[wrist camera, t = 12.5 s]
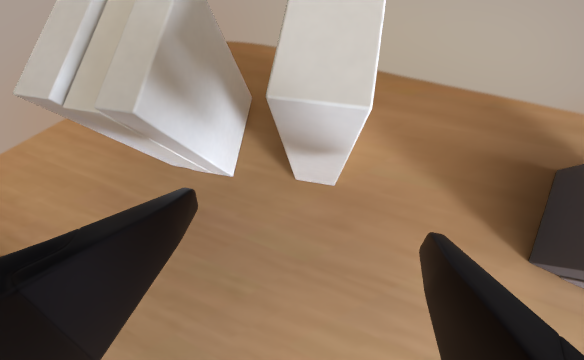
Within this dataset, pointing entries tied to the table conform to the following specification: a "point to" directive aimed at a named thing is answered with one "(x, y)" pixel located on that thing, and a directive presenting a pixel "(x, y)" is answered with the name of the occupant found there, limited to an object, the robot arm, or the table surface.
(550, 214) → the grey books
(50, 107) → the white books
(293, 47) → the white tall block
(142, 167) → the table surface
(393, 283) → the table surface
